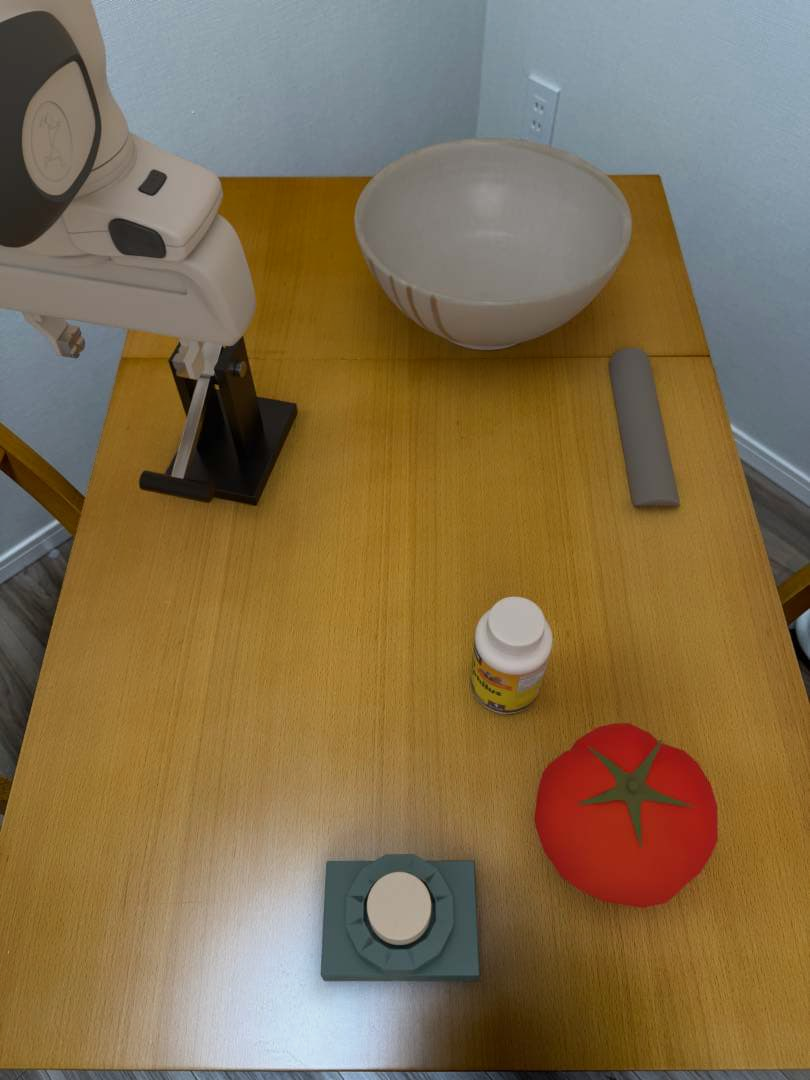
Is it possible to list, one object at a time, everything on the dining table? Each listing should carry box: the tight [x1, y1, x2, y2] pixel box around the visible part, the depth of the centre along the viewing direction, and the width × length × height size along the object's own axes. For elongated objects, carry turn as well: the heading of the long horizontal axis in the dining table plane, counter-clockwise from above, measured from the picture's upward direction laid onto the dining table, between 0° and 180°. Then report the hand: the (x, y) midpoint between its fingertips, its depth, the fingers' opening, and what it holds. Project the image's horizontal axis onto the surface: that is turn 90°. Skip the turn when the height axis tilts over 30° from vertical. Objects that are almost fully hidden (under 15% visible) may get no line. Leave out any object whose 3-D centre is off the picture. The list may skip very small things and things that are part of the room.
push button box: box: [320, 853, 481, 982], centre depth 56 cm, size 10×7×4 cm
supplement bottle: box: [469, 596, 553, 715], centre depth 63 cm, size 6×6×10 cm
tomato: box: [533, 722, 719, 909], centre depth 56 cm, size 12×12×10 cm
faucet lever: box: [138, 342, 225, 504], centre depth 72 cm, size 13×6×2 cm, turn 166°
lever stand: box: [164, 335, 298, 506], centre depth 77 cm, size 12×9×13 cm
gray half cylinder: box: [608, 347, 681, 507], centre depth 82 cm, size 4×20×2 cm, turn 179°
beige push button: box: [367, 872, 431, 945], centre depth 54 cm, size 4×4×2 cm
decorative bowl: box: [353, 137, 633, 351], centre depth 88 cm, size 27×27×12 cm
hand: (131, 361), depth 62 cm, fingers open, 8 cm apart
